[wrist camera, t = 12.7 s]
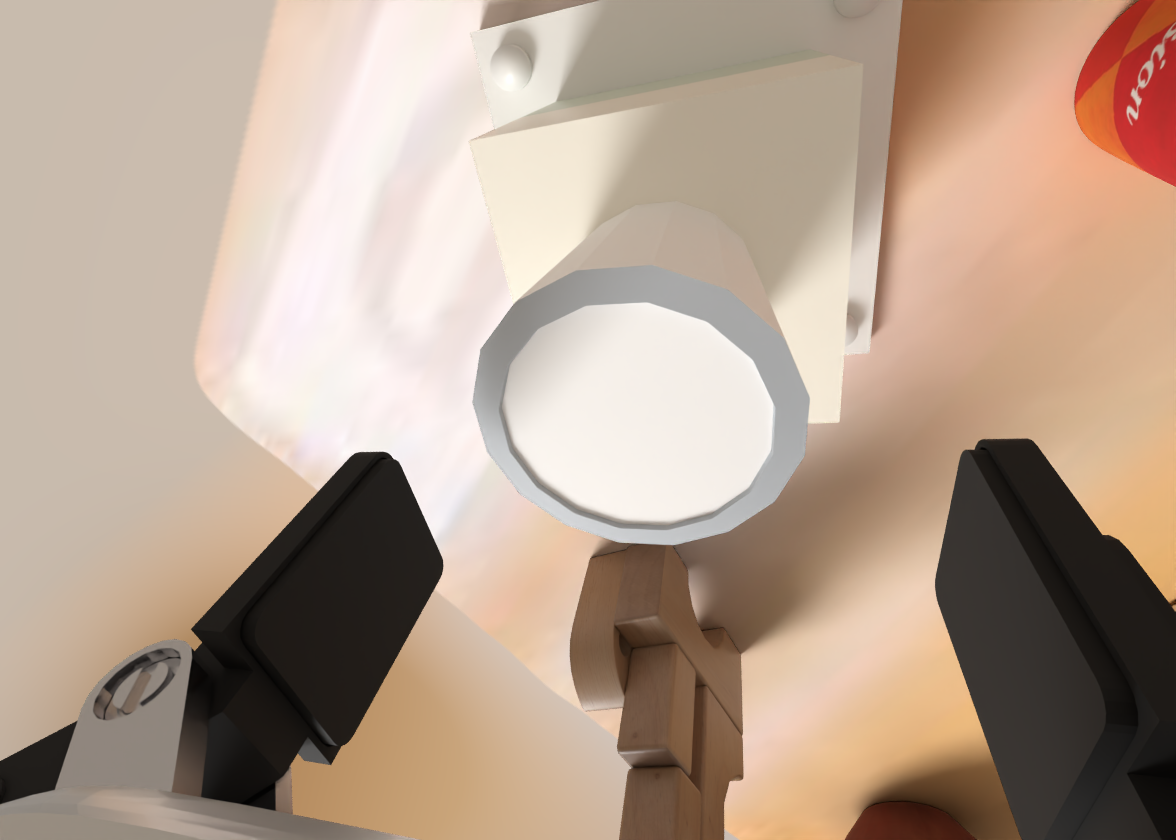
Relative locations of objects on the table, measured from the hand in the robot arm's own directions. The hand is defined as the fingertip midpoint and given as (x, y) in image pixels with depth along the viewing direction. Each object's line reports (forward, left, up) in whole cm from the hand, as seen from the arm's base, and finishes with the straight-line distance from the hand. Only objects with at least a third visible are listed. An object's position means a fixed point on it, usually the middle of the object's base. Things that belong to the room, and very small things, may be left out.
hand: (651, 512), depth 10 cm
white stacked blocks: (0, 0, -20) cm, 20 cm away
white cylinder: (+1, 0, -9) cm, 9 cm away
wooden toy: (+4, +30, -20) cm, 36 cm away
